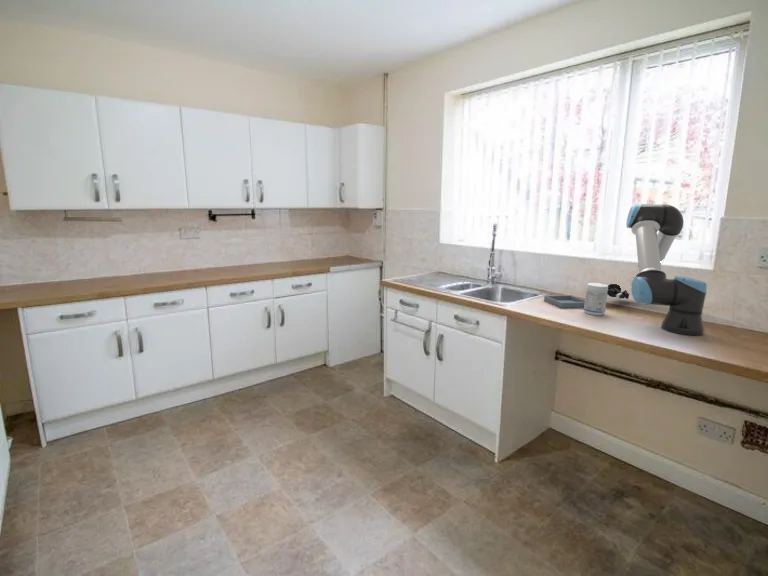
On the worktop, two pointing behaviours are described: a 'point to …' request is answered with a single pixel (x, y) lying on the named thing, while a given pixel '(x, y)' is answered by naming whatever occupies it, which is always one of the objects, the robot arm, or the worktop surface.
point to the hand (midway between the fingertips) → (602, 295)
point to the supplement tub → (595, 298)
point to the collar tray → (565, 301)
